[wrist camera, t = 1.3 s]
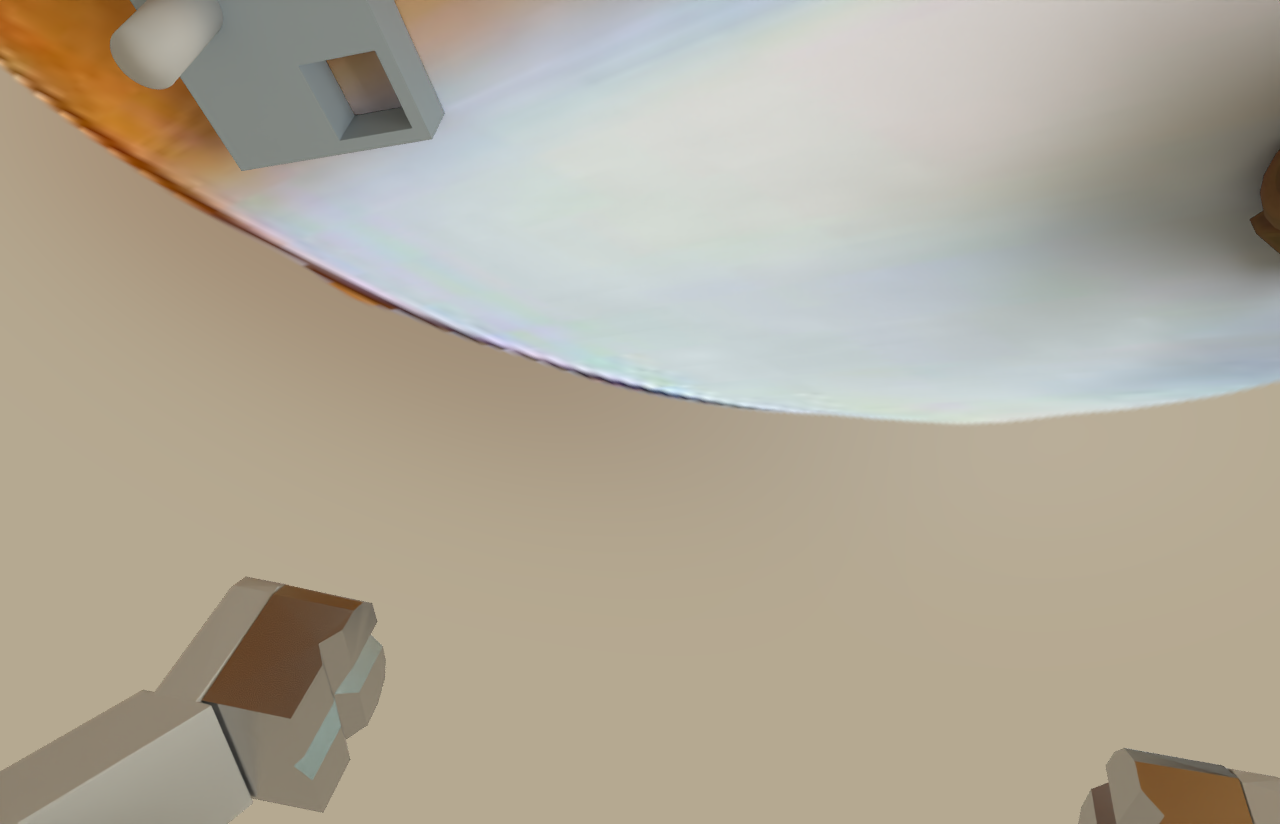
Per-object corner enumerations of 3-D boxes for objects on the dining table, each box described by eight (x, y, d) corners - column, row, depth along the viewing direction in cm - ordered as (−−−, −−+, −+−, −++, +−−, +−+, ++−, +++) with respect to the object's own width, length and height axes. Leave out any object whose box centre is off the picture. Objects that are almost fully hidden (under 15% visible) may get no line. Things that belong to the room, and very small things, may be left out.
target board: (128, -64, 47) (46, 8, 42) (340, -118, 43) (278, -48, 38) (258, 146, 55) (203, 225, 50) (444, 113, 52) (404, 195, 47)
